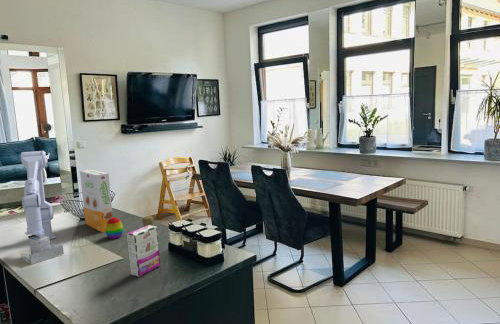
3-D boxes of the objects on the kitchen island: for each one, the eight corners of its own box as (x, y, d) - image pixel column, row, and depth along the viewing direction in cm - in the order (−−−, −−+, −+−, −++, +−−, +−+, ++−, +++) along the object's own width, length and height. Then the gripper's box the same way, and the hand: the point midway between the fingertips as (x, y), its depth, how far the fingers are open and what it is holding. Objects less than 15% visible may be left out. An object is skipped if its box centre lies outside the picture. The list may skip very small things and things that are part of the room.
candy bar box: (152, 263, 148) (148, 224, 145) (161, 266, 145) (157, 226, 143) (129, 274, 138) (125, 233, 136) (138, 277, 136) (135, 235, 133)
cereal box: (113, 229, 193) (108, 173, 189) (102, 232, 189) (96, 175, 185) (96, 221, 209) (91, 169, 205) (85, 223, 205) (79, 170, 201)
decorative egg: (126, 234, 185) (124, 214, 184) (119, 239, 177) (117, 219, 176) (111, 234, 186) (109, 214, 185) (103, 239, 178) (101, 219, 177)
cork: (152, 241, 173) (150, 218, 172) (140, 240, 175) (138, 218, 173) (157, 236, 179) (156, 215, 178) (146, 236, 180) (144, 214, 179)
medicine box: (52, 256, 160) (49, 237, 158) (42, 260, 156) (39, 240, 155) (40, 253, 163) (38, 234, 162) (31, 257, 160) (28, 237, 158)
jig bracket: (21, 258, 159) (19, 249, 158) (52, 248, 169) (51, 240, 168) (31, 264, 151) (30, 255, 151) (63, 254, 161) (62, 245, 161)
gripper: (17, 220, 163) (21, 249, 165) (30, 226, 154) (34, 257, 156) (35, 216, 168) (38, 244, 170) (48, 222, 159) (51, 251, 161)
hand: (37, 250), depth 163 cm, fingers closed, pressing on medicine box
